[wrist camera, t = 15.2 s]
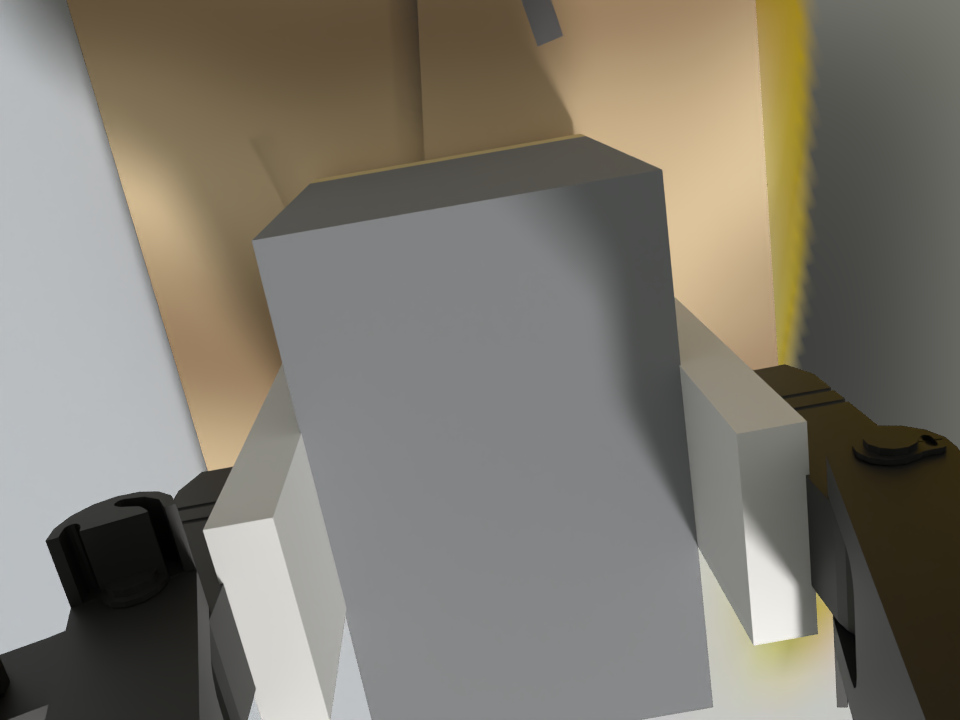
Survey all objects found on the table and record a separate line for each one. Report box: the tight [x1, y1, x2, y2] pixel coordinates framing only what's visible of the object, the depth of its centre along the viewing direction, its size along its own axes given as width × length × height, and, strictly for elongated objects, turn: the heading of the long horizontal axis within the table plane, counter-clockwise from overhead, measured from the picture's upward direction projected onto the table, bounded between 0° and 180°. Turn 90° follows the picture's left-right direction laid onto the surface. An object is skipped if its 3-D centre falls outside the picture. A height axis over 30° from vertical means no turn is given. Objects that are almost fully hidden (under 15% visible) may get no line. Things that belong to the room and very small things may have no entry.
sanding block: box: [252, 134, 713, 720], centre depth 15 cm, size 8×5×6 cm, turn 9°
